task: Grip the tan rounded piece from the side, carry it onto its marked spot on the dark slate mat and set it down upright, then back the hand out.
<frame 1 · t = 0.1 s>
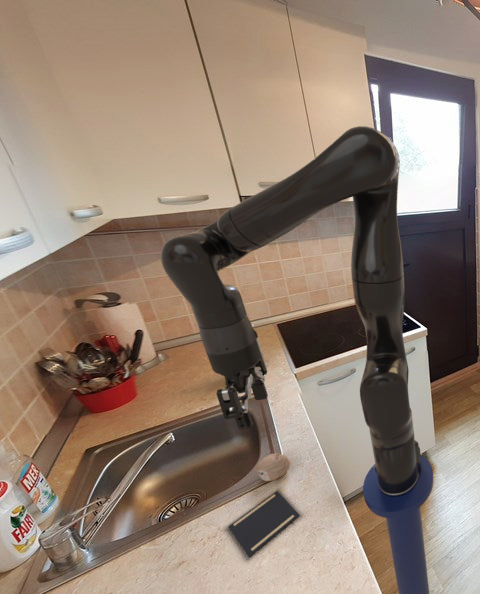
hand: (254, 412, 66), 26 cm above the worktop, tool pointing down, fingers open, 8 cm apart
travel mug: (254, 370, 123), on the worktop
tan rounded piece: (276, 475, 82), on the worktop
slate mat: (264, 521, 71), on the worktop
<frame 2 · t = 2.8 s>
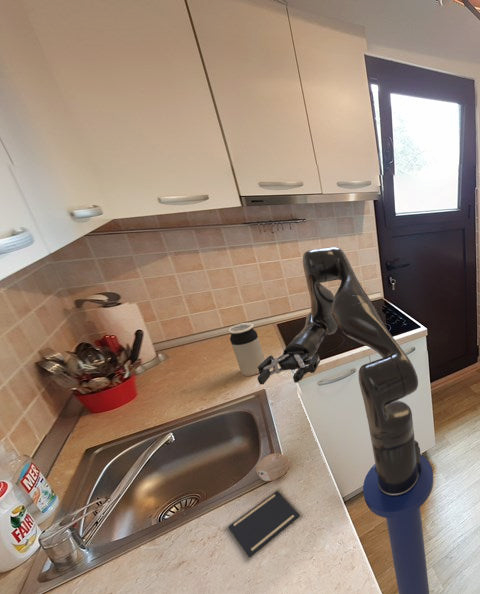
hand: (277, 380, 84), 20 cm above the worktop, tool horizontal, fingers open, 8 cm apart
nothing on the worktop moved.
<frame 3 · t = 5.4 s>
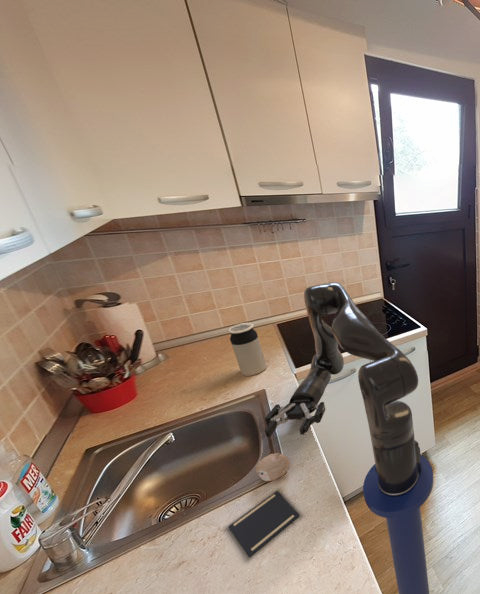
hand: (284, 433, 86), 6 cm above the worktop, tool horizontal, fingers open, 8 cm apart
nothing on the worktop moved.
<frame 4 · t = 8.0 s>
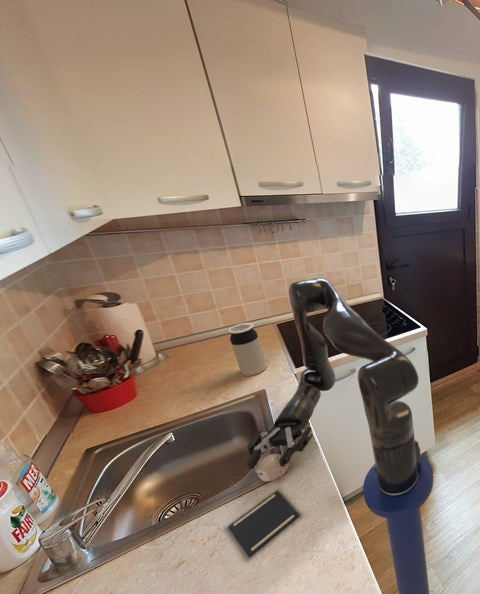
hand: (266, 465, 77), 6 cm above the worktop, tool horizontal, fingers closed on tan rounded piece, 6 cm apart
tan rounded piece: (275, 475, 81), on the worktop, touching gripper
everything else where it was.
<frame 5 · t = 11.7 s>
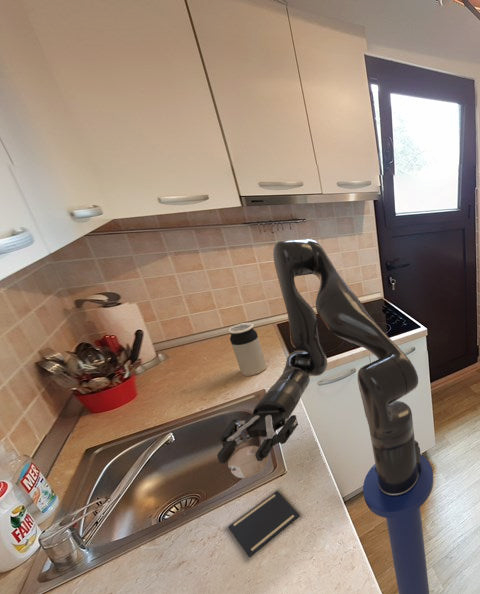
hand: (239, 459, 65), 18 cm above the worktop, tool horizontal, fingers closed on tan rounded piece, 6 cm apart
tan rounded piece: (253, 471, 69), point 11 cm above the worktop, touching gripper
everything else where it was.
when the fingers open (6 cm above the worktop, at t = 15.7 s): tan rounded piece stays where it is, resting on slate mat.
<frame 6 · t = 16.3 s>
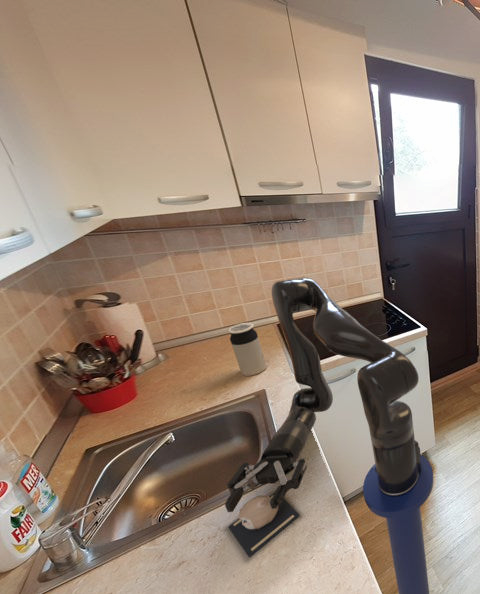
hand: (250, 507, 66), 7 cm above the worktop, tool horizontal, fingers open, 8 cm apart
tan rounded piece: (262, 521, 71), resting on slate mat
everything else where it was.
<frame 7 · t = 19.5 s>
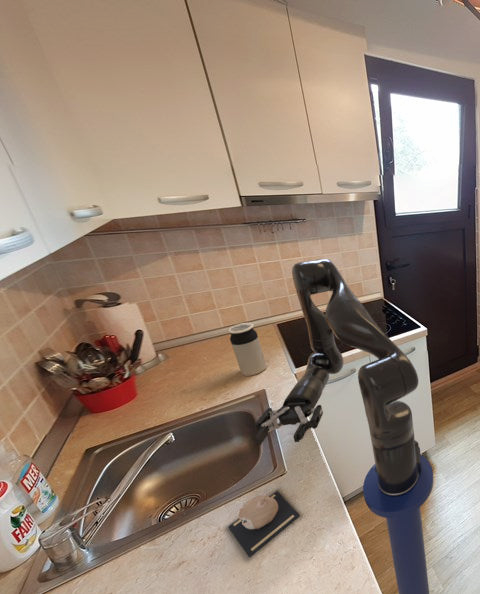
hand: (276, 440, 76), 12 cm above the worktop, tool horizontal, fingers open, 8 cm apart
nothing on the worktop moved.
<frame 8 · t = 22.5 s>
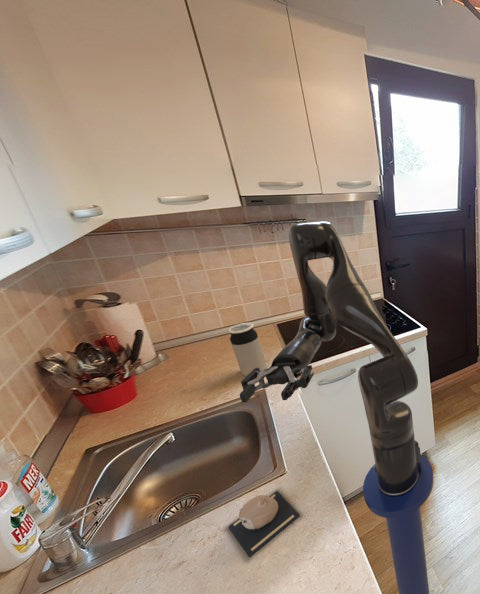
hand: (263, 398, 72), 24 cm above the worktop, tool horizontal, fingers open, 8 cm apart
nothing on the worktop moved.
at the end: tan rounded piece inside the target area on the slate mat (0.4 cm from its centre), point 0.2 cm above the slate mat's base; tan rounded piece tilted 0° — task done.
